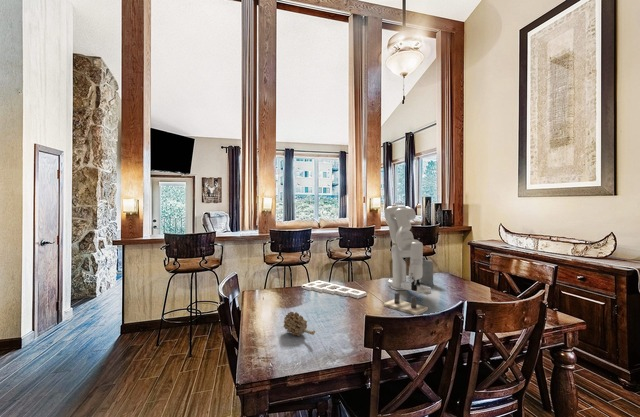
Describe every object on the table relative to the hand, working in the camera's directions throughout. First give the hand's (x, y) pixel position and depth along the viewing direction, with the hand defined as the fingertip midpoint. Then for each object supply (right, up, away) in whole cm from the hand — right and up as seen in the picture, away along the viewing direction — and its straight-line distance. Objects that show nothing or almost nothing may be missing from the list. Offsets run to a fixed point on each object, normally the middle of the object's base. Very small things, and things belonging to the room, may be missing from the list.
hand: (415, 289), depth 194 cm
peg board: (-11, -7, -14) cm, 19 cm away
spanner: (0, -1, 0) cm, 1 cm away
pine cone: (-70, -9, -50) cm, 87 cm away
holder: (-52, -7, +19) cm, 56 cm away
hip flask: (+18, -6, +40) cm, 44 cm away
